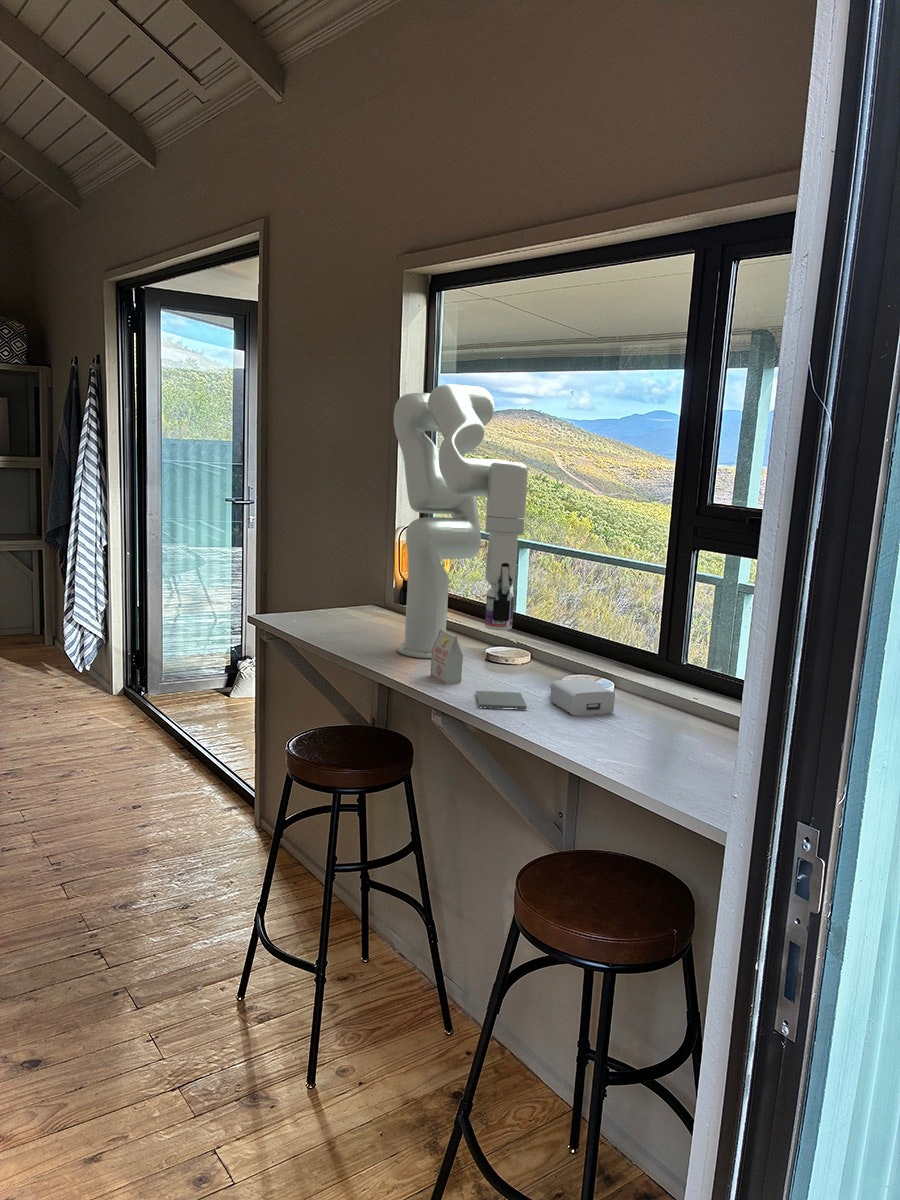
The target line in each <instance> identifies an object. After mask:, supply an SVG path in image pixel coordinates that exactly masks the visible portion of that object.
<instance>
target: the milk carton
mask: <svg viewBox="0 0 900 1200" xmlns="http://www.w3.org/2000/svg"><path fill="white" fill-rule="evenodd" d="M430 660H431V662H430V663H431V664H430V676H431V677H432V678H434V679H436V680H437V681H439V682H441V683H443V684H445V685H450V684H461V683H462V674H463V673H462V672H463V661H464V654H463V652H462V649H461V646H460V643H459V640H458V636H456V635H454V634H452V633H451V632H448V631H447V630H446V631H444V630H442V629H441V630H440V631H439V634H438V637H437V639H436V641H435V644H434V646H433V648H432V658H430Z"/></svg>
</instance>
